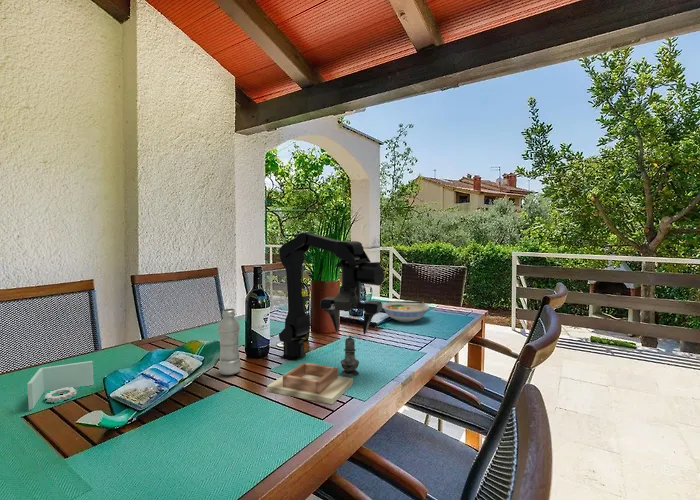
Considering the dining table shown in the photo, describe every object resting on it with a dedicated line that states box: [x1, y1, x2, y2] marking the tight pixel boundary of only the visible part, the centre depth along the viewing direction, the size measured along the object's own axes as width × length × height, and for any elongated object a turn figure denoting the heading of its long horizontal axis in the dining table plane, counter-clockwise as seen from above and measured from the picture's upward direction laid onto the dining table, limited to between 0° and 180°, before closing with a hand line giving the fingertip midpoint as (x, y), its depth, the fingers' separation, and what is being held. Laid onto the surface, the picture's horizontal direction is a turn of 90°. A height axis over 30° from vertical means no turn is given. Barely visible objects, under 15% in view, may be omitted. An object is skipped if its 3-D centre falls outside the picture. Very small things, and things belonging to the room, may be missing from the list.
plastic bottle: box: [217, 308, 242, 376], centre depth 118 cm, size 6×7×20 cm
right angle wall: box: [26, 360, 94, 410], centre depth 102 cm, size 12×12×8 cm
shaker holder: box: [266, 362, 354, 405], centre depth 108 cm, size 20×14×4 cm
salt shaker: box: [340, 335, 360, 377], centre depth 118 cm, size 6×6×12 cm
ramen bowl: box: [380, 300, 432, 323], centre depth 184 cm, size 25×23×8 cm
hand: (350, 332), depth 118 cm, fingers open, 9 cm apart
